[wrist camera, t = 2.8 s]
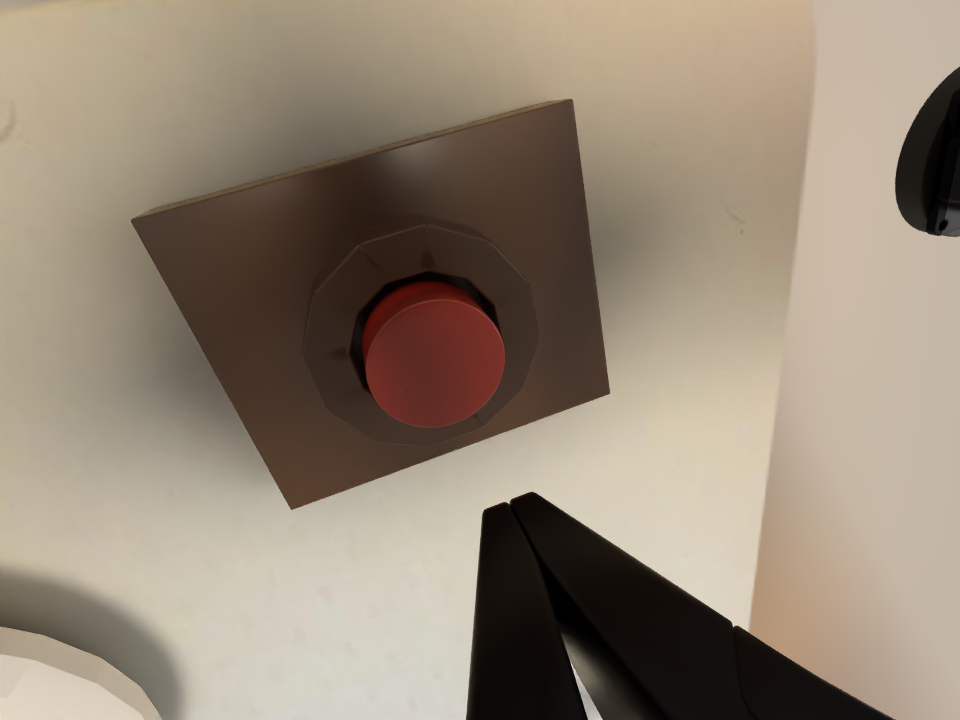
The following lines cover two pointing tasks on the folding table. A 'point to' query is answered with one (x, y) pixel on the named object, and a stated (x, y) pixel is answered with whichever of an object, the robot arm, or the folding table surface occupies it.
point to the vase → (63, 683)
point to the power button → (431, 354)
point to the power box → (388, 288)
